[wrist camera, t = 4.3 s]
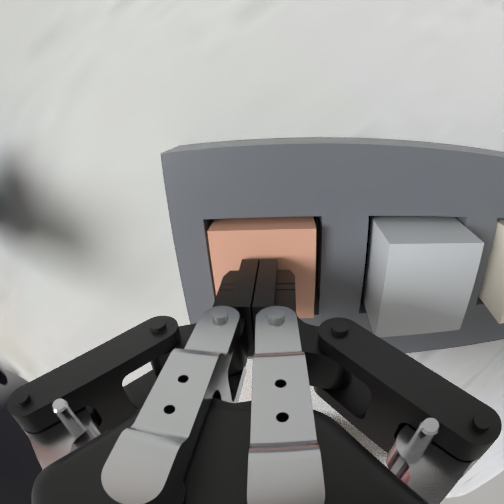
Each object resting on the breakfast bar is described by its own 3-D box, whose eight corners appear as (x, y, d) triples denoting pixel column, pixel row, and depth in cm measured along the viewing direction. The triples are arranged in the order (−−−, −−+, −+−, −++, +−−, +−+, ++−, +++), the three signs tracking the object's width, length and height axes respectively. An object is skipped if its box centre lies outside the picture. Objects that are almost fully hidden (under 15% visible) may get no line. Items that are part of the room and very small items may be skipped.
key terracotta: (310, 205, 15) (316, 228, 13) (310, 284, 17) (313, 318, 14) (221, 208, 16) (207, 231, 13) (229, 285, 18) (219, 317, 15)
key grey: (453, 217, 13) (484, 243, 10) (438, 295, 15) (459, 329, 12) (370, 216, 13) (389, 243, 11) (362, 299, 15) (374, 337, 13)
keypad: (550, 161, 12) (575, 172, 10) (514, 312, 17) (530, 332, 14) (179, 145, 15) (160, 153, 12) (207, 328, 19) (198, 356, 17)
